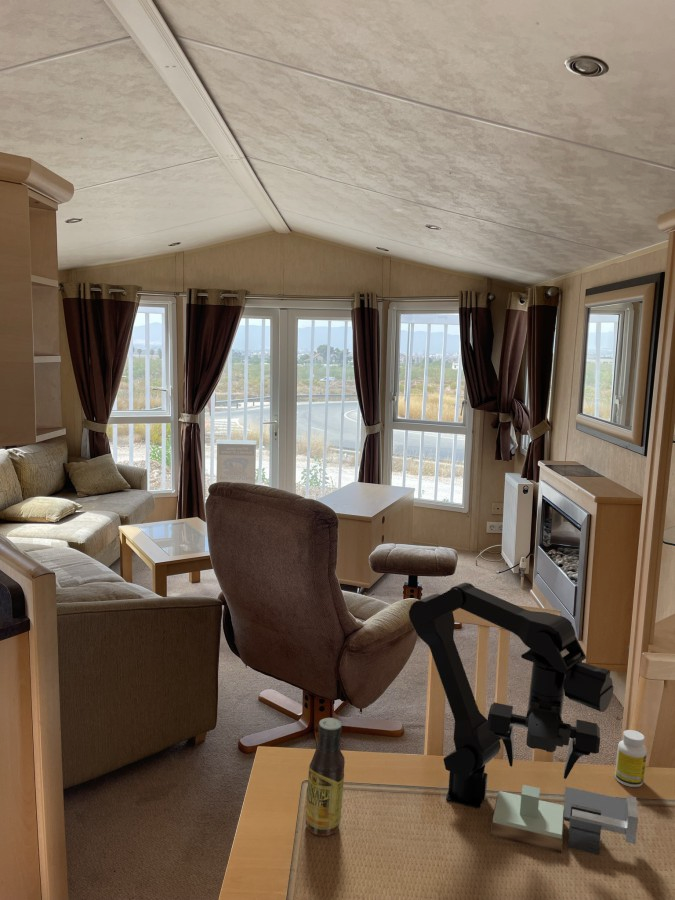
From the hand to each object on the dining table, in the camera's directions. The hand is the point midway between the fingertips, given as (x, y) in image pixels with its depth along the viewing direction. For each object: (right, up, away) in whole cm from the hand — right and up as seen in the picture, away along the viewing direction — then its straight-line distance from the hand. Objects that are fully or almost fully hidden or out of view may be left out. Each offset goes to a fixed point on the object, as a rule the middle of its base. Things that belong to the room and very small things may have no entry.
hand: (537, 771), depth 130 cm
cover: (-1, -9, +1) cm, 9 cm away
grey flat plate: (+13, -11, +8) cm, 19 cm away
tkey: (+10, -8, -3) cm, 14 cm away
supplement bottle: (+23, -10, +18) cm, 31 cm away
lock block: (+8, -12, -1) cm, 14 cm away
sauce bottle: (-38, -10, 0) cm, 39 cm away
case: (-1, -11, +2) cm, 11 cm away
